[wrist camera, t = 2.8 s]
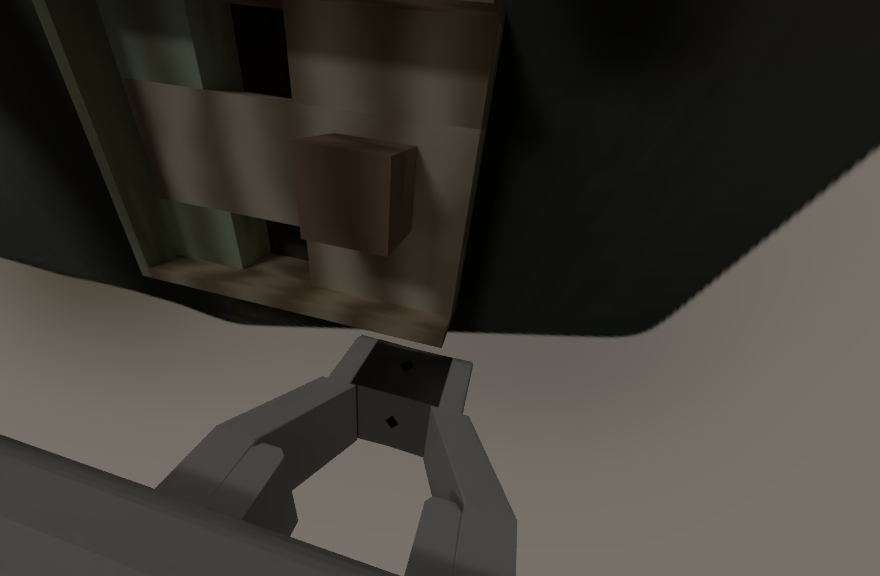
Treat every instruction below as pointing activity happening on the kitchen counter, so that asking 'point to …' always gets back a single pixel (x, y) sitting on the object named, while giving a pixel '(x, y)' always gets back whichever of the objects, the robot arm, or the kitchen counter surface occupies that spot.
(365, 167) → the walnut block
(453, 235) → the tray
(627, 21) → the kitchen counter surface
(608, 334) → the kitchen counter surface
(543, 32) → the kitchen counter surface
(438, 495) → the robot arm
